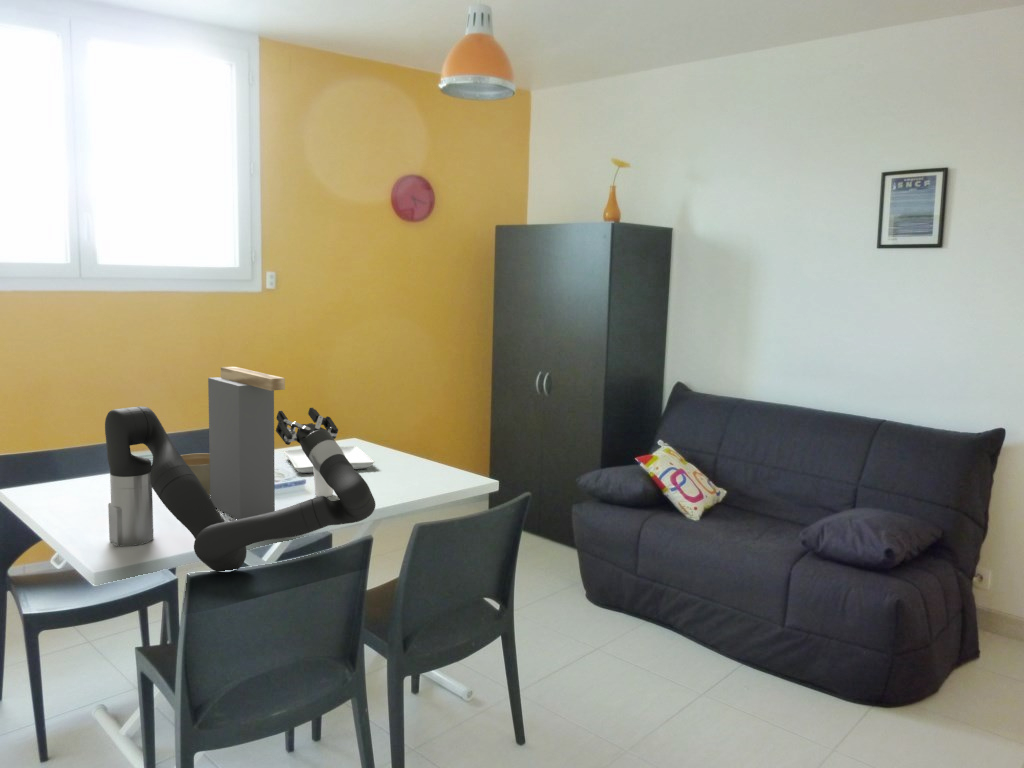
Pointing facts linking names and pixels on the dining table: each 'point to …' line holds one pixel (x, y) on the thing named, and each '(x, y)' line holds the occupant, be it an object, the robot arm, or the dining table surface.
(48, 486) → the dining table surface
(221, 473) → the stand
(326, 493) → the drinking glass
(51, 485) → the dining table surface
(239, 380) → the block
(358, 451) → the square plate
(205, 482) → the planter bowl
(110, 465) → the robot arm
